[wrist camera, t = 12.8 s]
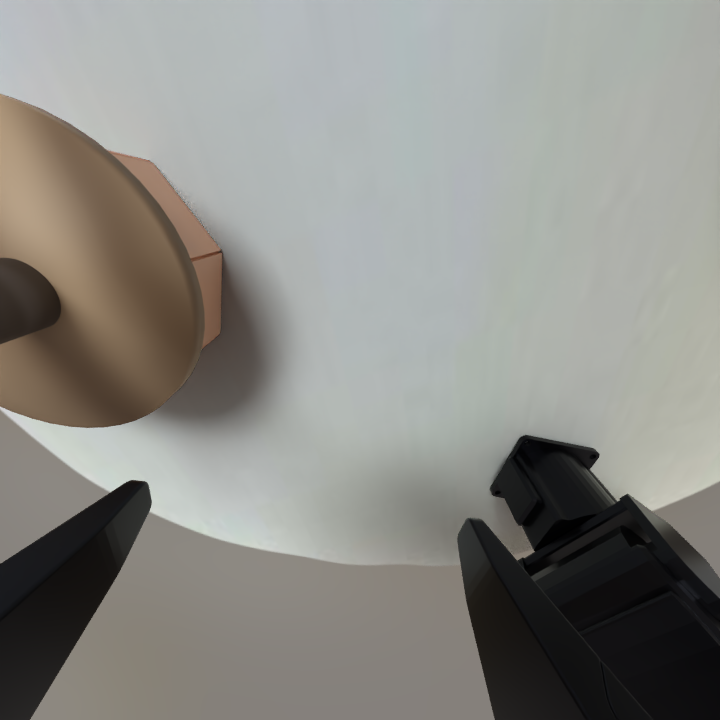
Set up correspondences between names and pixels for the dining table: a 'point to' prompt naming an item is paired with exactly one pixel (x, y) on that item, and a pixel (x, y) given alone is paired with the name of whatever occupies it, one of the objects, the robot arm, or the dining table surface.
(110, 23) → the dining table surface
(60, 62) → the dining table surface
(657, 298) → the dining table surface
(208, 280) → the terracotta bowl
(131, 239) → the walnut lid
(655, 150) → the dining table surface
